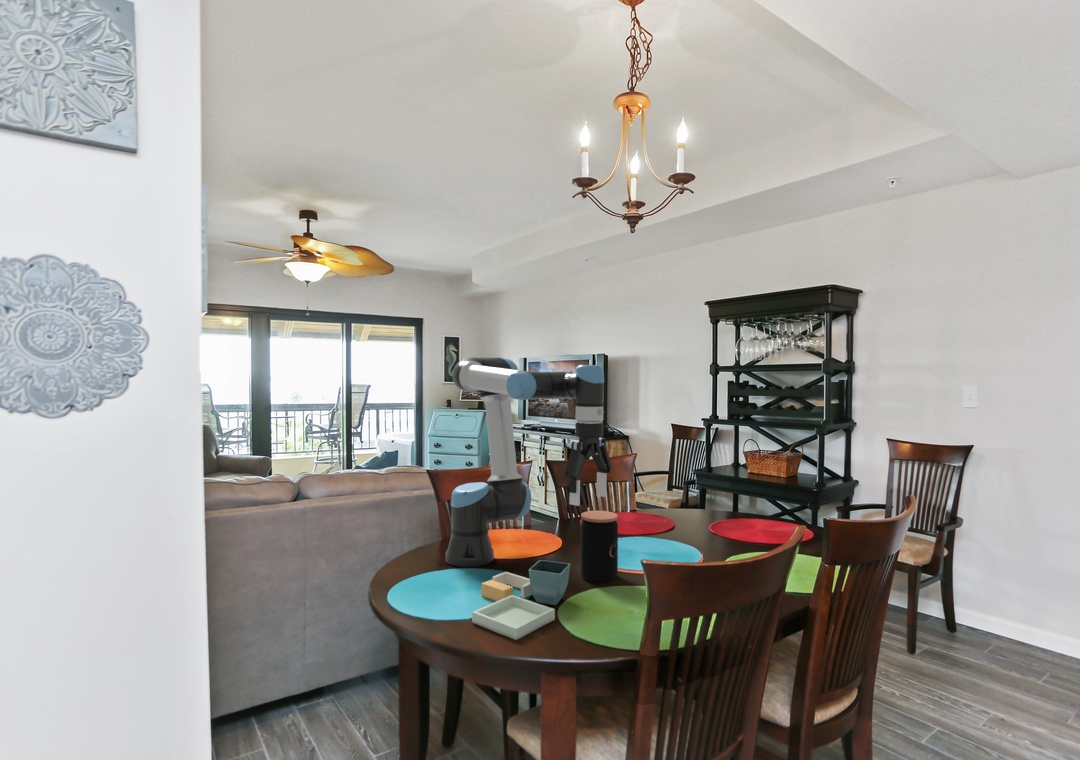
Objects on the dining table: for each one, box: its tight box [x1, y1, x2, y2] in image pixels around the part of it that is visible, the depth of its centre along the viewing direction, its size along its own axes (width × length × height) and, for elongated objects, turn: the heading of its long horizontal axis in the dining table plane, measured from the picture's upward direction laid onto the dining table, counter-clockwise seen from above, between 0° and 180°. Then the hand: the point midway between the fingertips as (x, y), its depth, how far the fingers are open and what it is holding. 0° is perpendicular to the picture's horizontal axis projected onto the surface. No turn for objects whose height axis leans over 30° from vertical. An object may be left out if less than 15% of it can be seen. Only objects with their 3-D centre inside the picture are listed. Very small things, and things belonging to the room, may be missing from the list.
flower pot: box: [528, 559, 571, 606], centre depth 147 cm, size 9×9×9 cm
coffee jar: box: [580, 510, 619, 584], centre depth 164 cm, size 11×11×18 cm
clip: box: [491, 571, 533, 599], centre depth 154 cm, size 11×6×3 cm, turn 51°
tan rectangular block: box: [480, 579, 514, 602], centre depth 149 cm, size 8×4×4 cm, turn 51°
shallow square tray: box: [471, 594, 556, 641], centre depth 134 cm, size 14×14×2 cm
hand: (588, 500), depth 154 cm, fingers open, 13 cm apart
